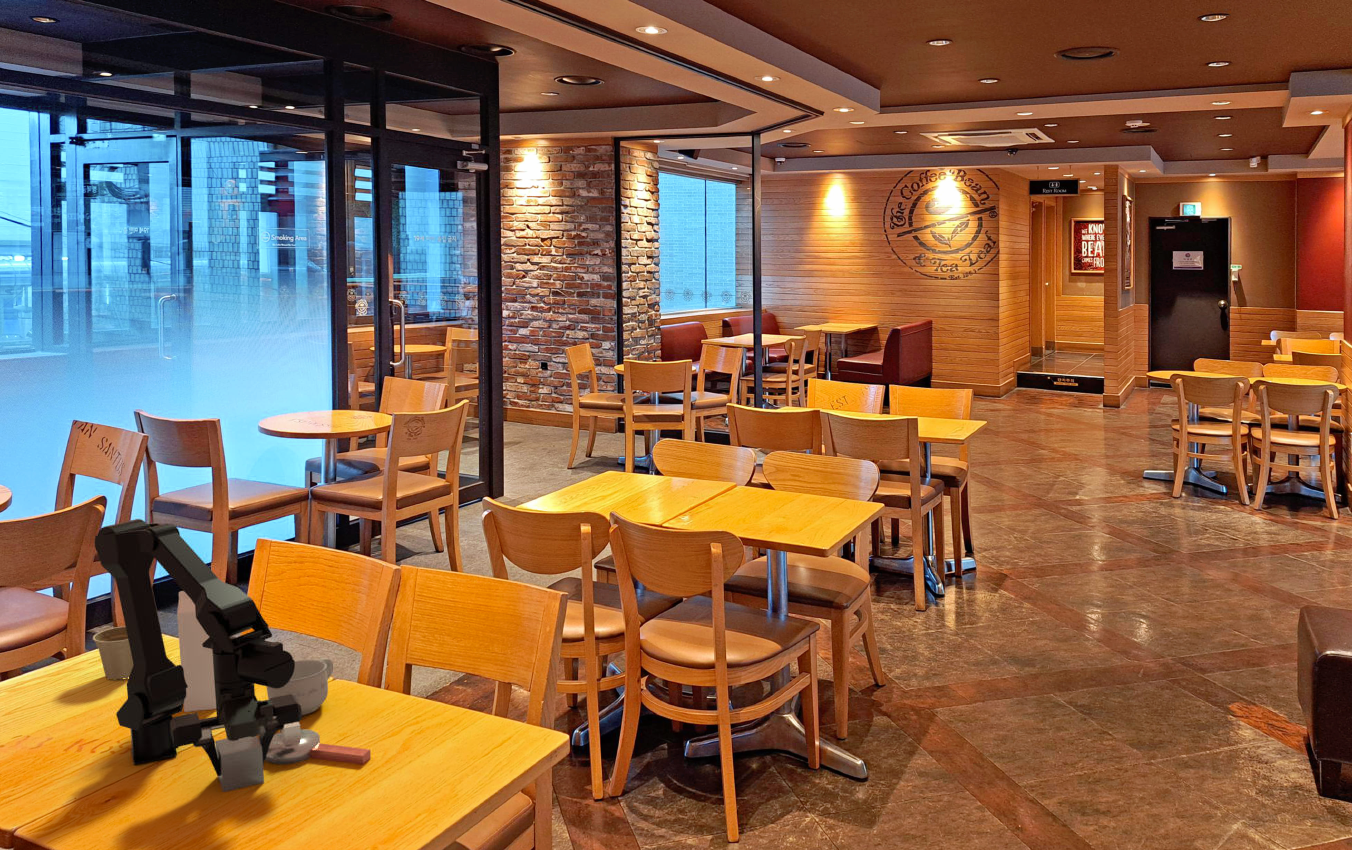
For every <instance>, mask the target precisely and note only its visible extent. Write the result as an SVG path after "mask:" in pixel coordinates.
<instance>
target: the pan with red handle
mask: <svg viewBox="0 0 1352 850" xmlns="http://www.w3.org/2000/svg"><path fill="white" fill-rule="evenodd" d="M320 741H321V739H320V734H319V733H318V732H317V731H315V730H311V729H304V728H301V724H300V721H299V722H295V723H290V724H285V725H284V728H283V729H282V730H280V732H278V733H277V732H276V733H275V734H274V736H273V738H272V740H271V743H270V746H269V749H268V752H267V755H266V759H265V762H268V763H270V764H274V765H291V764H297V763H302V762H305V761H307V760H310V759H314V760H315V759H316V760H323V761H324V760H325V761H330V762H331V761H332V762H340V763H347V764H349V763H350V764H357V765H364V764H366V761H367V762H368V761H369V760H370V759H372V757H371V755H372V754H371V749H370V748H369V749H368V748H363V747H362V748H361V747H353V746H346V745H345V746H344V745H336V744H328V743H327V744H326V743H321V742H320ZM301 761H302V762H301Z"/></svg>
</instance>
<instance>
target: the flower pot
mask: <svg viewBox="0 0 1352 850" xmlns="http://www.w3.org/2000/svg"><path fill="white" fill-rule="evenodd" d="M92 640H93V641H94V642H95V645H96V648H98V652H99V655H100V660H101V663H102V667H103V671H104V676H105V678H106V677H107V678H108V679H107V678H106V679H107V680H109V679H116V680H122V679H123V678H128V677H129V676H130V673H131V670H132V668H133V660H132V655H131V650H130V645H129V641H128V636H127V631H126V626H124V625H123V626H118V627H117V626H116V627H113V628H112V627H111V628H107V629H105V630H104V629H103V630H102V631H99V632H96V633H95V634H94V635H93V636H92Z"/></svg>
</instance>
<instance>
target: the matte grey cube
mask: <svg viewBox="0 0 1352 850" xmlns="http://www.w3.org/2000/svg"><path fill="white" fill-rule="evenodd" d="M214 741H215V747H216V752H217V756H218V761H219V765H220V776H217V778H218V781H219V785H220V786H221V790H222V793H225V792H230V791H234V790H237V789H242V788H243V789H244V788H247V787H250V786H251V787H252V786H255V785H261V784H264V783H265V776H264V765H263V756H262V746H261V744H260V742H259V736H258V735H257V736H255V737H245V738H241V739H238V740H236V741H230V740H228V739H227V738H224V739H223V738H221V739H218V740H214Z"/></svg>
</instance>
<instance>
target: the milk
mask: <svg viewBox="0 0 1352 850" xmlns="http://www.w3.org/2000/svg"><path fill="white" fill-rule="evenodd" d="M177 604H178V606H177V611H176V612H177V613H176V615H177V616H176V617H177V618H176V619H177V628H178V630H177V632H178V642H179V658H180V659H179V660H180V665H181V666H182V667H183V669H184V678H185V681H186V684H187V686H188V688H186V698H185V700H184V704H183V711H184V713H189V712H190V713H191V712H198V711H209V710H216V698H215V683H214V667H213V652H212V649H209V648H205V647H203V646H202V644H203V642H205V641H206V640H207V639H208V638H209V636H208V635H207V634H206V632H205V631H204V629H203V628H202V626H201V625H200V623H199V622H198V620H197V619H196V613H195V604H194V603H193V601H192V600H191V599H190V597H189V596H188V595H187V594H186V593H185V592H184V591H183V590H181V591H178V603H177Z"/></svg>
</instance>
